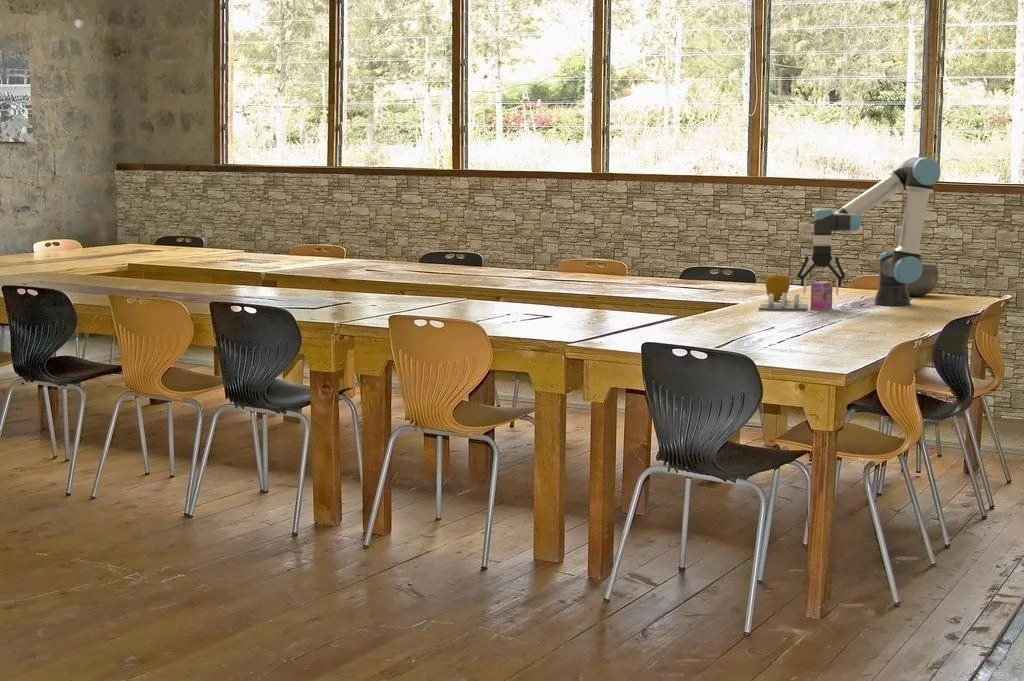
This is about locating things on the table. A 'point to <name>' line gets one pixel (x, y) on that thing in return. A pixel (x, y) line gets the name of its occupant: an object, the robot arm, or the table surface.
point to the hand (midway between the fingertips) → (820, 294)
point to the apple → (777, 285)
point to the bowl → (924, 281)
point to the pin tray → (787, 307)
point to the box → (821, 295)
